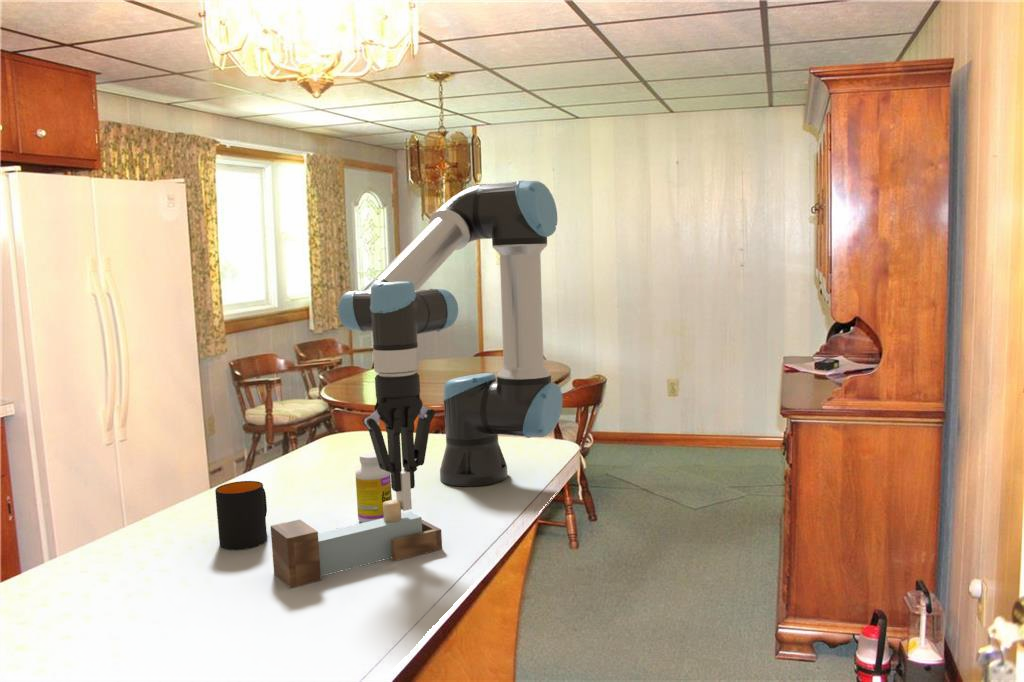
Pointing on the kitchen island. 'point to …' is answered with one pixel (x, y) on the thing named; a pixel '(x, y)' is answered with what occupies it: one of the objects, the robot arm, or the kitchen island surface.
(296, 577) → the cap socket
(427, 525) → the brown wooden u-shaped frame
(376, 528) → the slat
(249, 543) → the mug
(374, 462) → the supplement bottle
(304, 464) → the kitchen island surface
